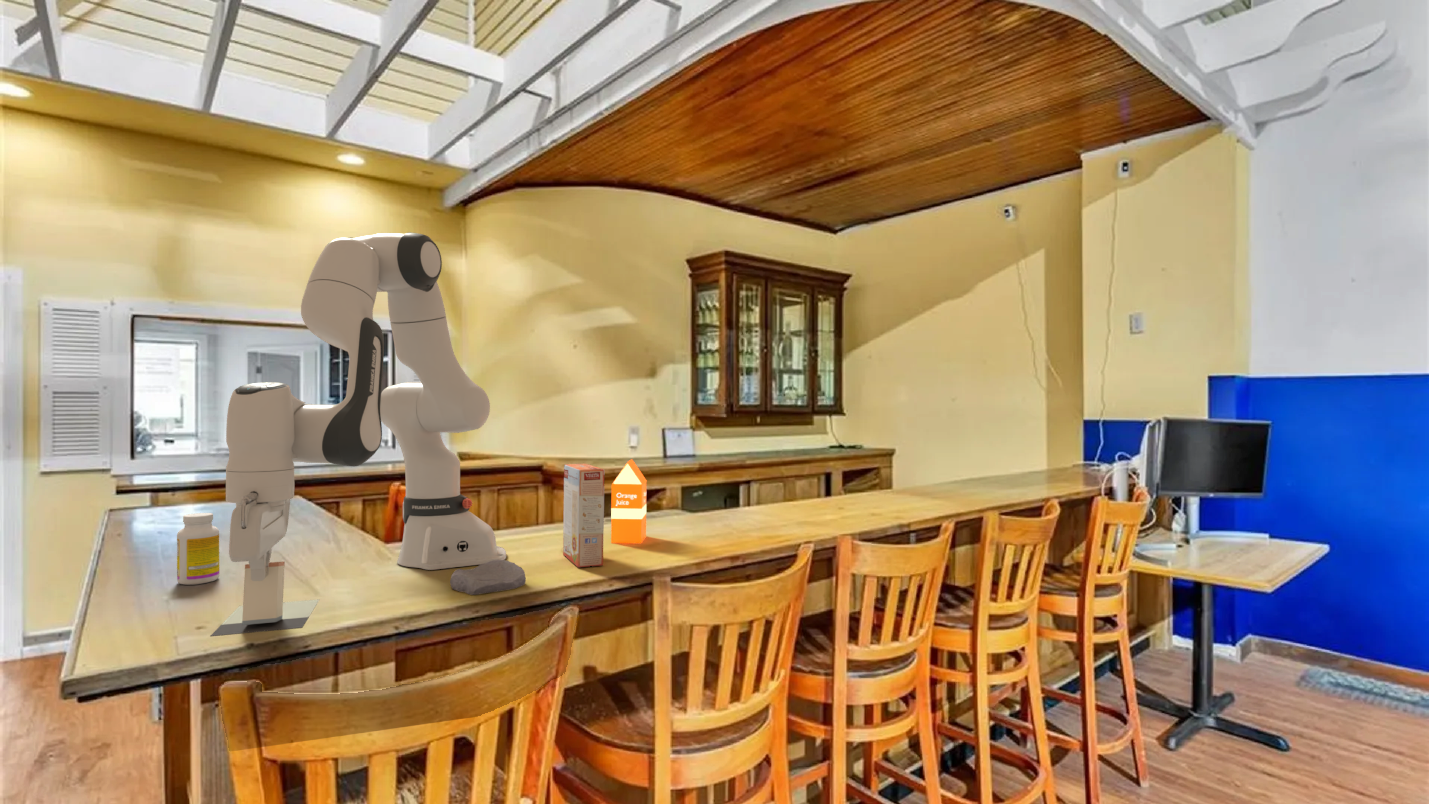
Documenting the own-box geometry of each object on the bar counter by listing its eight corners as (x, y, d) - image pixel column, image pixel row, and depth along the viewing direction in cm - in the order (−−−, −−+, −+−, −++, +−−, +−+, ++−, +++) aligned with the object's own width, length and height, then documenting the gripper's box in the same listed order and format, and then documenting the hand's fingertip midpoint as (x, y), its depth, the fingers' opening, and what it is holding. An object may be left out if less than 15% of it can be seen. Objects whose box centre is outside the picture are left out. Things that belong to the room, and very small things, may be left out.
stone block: (530, 594, 138) (500, 575, 144) (533, 571, 137) (502, 553, 144) (476, 610, 129) (446, 590, 135) (478, 585, 128) (448, 566, 134)
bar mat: (319, 601, 125) (319, 599, 125) (302, 630, 110) (302, 627, 110) (239, 608, 121) (239, 605, 121) (210, 638, 106) (210, 636, 106)
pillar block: (282, 618, 115) (284, 561, 116) (276, 622, 110) (278, 562, 112) (249, 621, 113) (252, 563, 114) (242, 625, 109) (245, 564, 110)
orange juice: (610, 542, 177) (611, 461, 177) (616, 535, 186) (617, 458, 185) (642, 543, 177) (642, 462, 176) (646, 536, 185) (647, 459, 185)
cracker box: (605, 566, 153) (605, 468, 153) (577, 569, 150) (577, 469, 150) (588, 552, 166) (588, 462, 165) (562, 555, 163) (562, 463, 163)
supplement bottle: (227, 578, 140) (228, 512, 140) (195, 587, 134) (195, 518, 134) (201, 575, 142) (201, 511, 142) (168, 584, 136) (168, 516, 136)
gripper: (269, 496, 101) (268, 594, 101) (296, 480, 120) (296, 563, 120) (216, 498, 99) (215, 598, 99) (252, 481, 118) (252, 565, 118)
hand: (259, 578), depth 109 cm, fingers closed
